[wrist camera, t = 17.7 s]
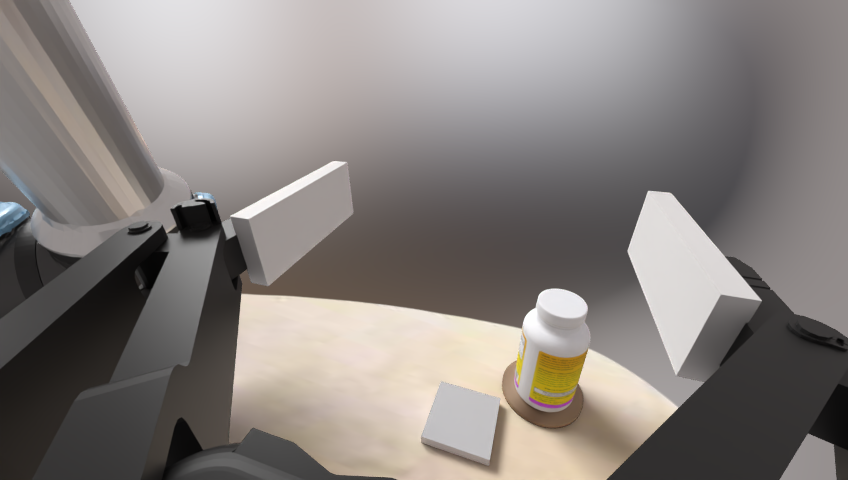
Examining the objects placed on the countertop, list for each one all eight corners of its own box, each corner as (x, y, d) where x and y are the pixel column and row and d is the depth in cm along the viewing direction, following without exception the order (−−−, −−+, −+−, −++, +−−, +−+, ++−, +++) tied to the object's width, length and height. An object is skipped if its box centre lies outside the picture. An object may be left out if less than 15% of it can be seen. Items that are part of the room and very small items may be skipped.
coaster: (497, 414, 37) (498, 410, 37) (506, 353, 45) (506, 350, 45) (585, 438, 35) (586, 435, 35) (579, 370, 42) (579, 367, 42)
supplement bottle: (585, 400, 38) (615, 313, 32) (540, 425, 36) (563, 335, 29) (543, 358, 43) (562, 276, 37) (501, 377, 41) (514, 292, 35)
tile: (421, 436, 34) (489, 460, 32) (441, 381, 40) (500, 398, 38) (421, 444, 35) (488, 468, 33) (440, 389, 41) (499, 406, 39)
